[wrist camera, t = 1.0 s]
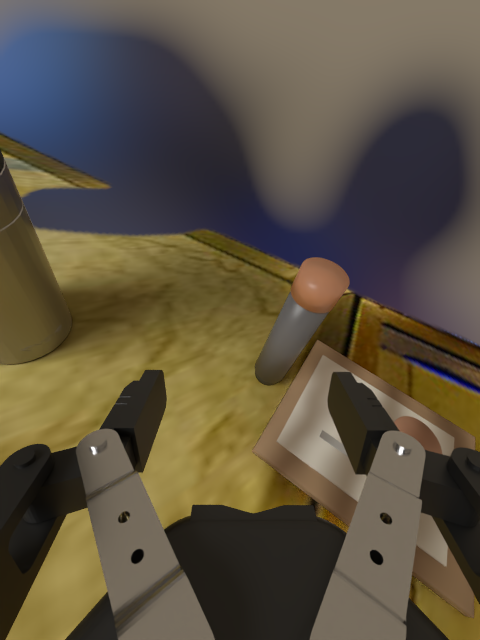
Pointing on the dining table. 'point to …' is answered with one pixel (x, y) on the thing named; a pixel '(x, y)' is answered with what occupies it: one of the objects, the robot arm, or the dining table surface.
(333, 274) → the marker
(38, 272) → the robot arm
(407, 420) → the clipboard
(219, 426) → the dining table surface
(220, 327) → the dining table surface
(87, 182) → the dining table surface
